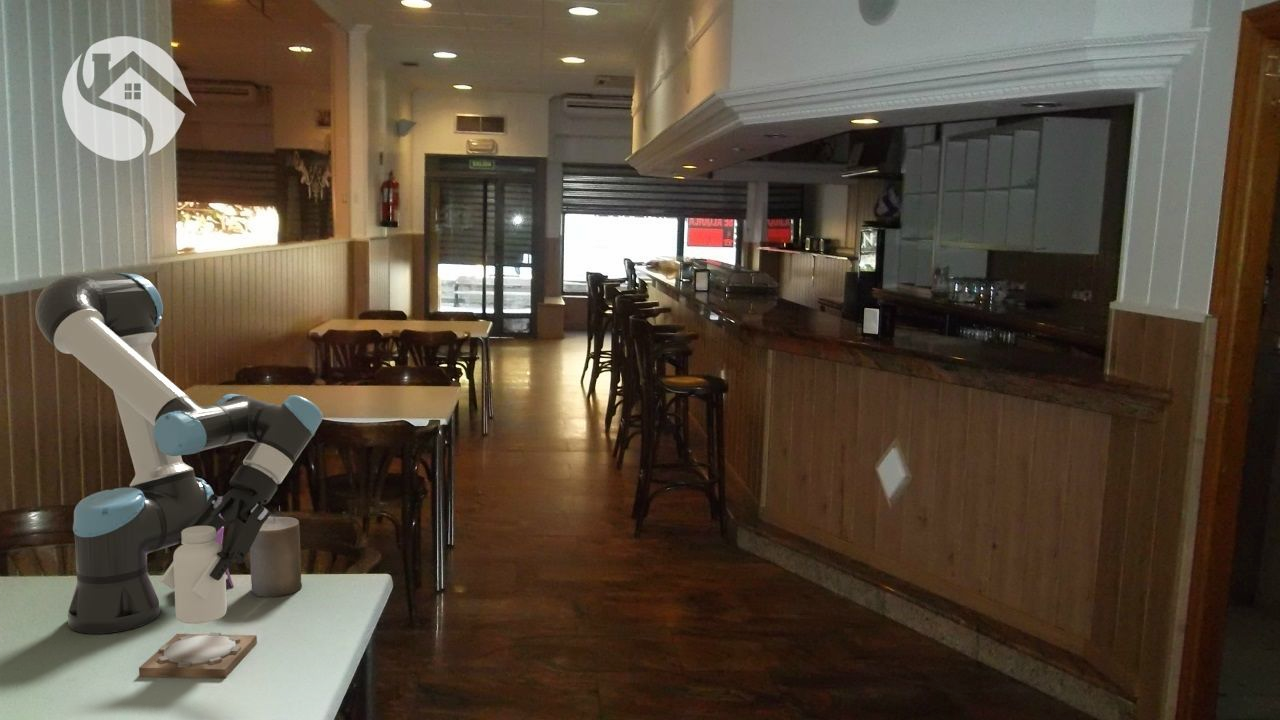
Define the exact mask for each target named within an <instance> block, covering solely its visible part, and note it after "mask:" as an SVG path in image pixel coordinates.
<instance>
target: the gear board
mask: <svg viewBox="0 0 1280 720" xmlns="http://www.w3.org/2000/svg"><path fill="white" fill-rule="evenodd" d="M257 636H258V635H256V634H253V635H252V634H222V632H210V633H208V634H207V633H206V634H205V633H176V634H174V636H173V637H172V638H170V639H169V640H168V641H167V642H165V644H163V645H162V646H161V647H159V648H158V650H157V651H155V653H153V654H152V655H151V656H150V657H149V658H148V659H146V661H145V662H143V663H142V664H141V665H140V666H139V667H138V677H142V678H143V677H144V678H145V677H148V678H149V677H152V678H194V679H195V678H199V679H200V678H201V679H202V678H203V679H226V678H227V677H228V676H229V675H230V673H232V672H233V670H234V669H235V668H236V667H237V666H238V665H239V664H240V663H241V662H242V660H243V659H244V658H246V656H247V655H248V654H249V653H250V652H251V650H252V649H254V647H255V646H256V645H257V644H258V637H257Z"/></svg>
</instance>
